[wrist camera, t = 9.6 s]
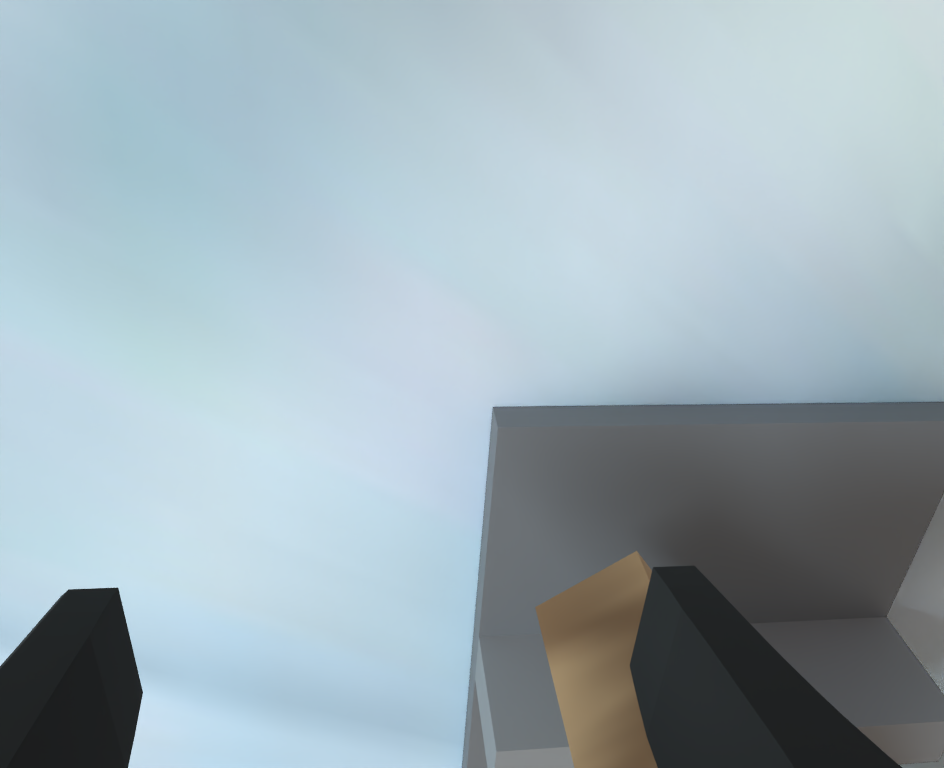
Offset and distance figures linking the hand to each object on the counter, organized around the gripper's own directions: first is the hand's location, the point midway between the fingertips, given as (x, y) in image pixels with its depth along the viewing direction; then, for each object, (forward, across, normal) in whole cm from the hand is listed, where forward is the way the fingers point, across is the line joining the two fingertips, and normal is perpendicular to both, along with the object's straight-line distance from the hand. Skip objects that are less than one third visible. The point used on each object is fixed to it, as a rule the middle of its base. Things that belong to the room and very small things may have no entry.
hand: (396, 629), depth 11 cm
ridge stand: (+10, -10, +12) cm, 19 cm away
